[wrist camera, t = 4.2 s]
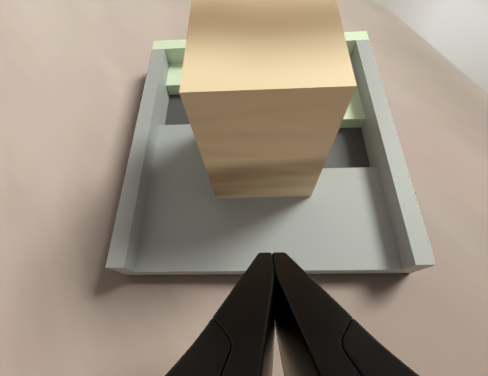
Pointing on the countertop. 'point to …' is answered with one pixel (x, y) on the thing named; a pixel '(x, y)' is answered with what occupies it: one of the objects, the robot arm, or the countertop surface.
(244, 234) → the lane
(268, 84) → the block
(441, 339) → the countertop surface
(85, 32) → the countertop surface
